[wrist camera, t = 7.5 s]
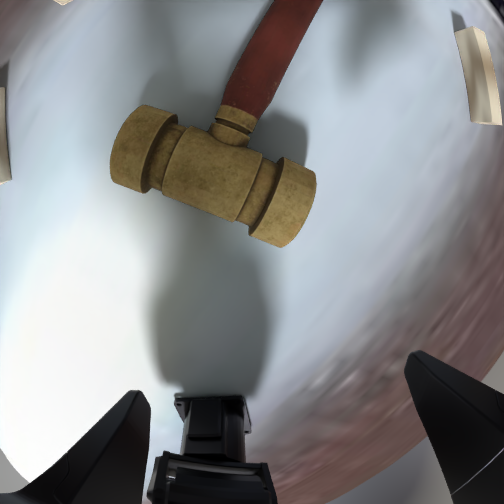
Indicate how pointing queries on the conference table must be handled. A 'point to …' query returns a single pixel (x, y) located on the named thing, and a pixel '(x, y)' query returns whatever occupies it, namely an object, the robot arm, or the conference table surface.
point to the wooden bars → (475, 71)
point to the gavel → (228, 142)
